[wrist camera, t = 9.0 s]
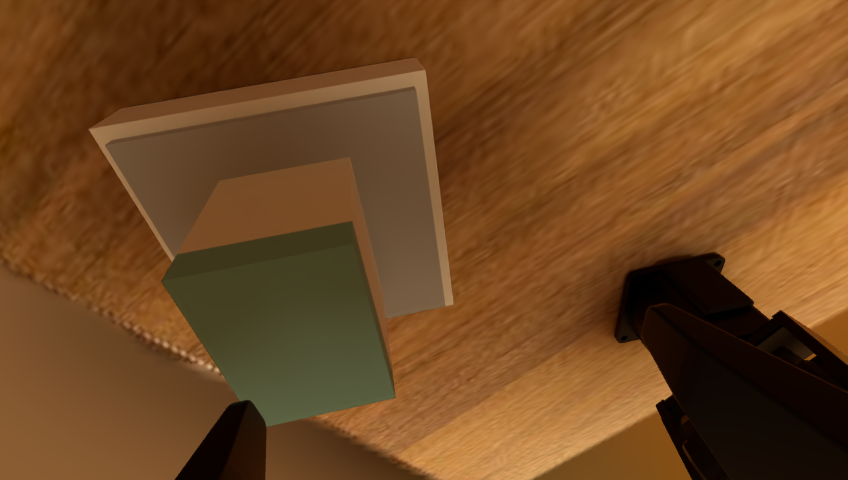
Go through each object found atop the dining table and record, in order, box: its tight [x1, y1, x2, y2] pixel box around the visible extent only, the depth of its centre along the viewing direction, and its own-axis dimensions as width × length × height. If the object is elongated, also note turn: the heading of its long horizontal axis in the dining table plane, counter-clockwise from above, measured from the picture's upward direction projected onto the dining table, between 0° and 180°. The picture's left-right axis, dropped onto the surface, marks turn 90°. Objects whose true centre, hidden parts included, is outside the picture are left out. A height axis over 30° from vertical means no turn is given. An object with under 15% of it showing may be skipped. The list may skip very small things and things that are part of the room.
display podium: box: [89, 57, 454, 319], centre depth 19 cm, size 12×12×3 cm
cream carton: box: [161, 157, 396, 427], centre depth 15 cm, size 5×7×6 cm
